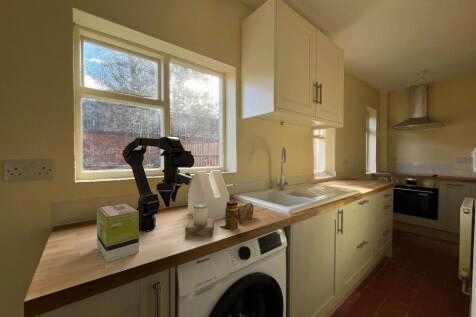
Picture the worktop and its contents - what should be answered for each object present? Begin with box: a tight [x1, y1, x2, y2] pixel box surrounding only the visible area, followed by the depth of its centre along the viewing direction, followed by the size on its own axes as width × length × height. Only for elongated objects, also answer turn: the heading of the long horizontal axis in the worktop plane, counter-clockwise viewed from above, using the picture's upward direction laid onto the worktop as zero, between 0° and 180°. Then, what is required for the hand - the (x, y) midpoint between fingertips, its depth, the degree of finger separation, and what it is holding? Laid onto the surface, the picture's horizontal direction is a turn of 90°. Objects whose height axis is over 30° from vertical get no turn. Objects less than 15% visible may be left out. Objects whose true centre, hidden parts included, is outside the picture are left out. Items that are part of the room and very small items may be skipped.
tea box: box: [96, 203, 140, 263], centre depth 72 cm, size 15×10×15 cm, turn 45°
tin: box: [238, 202, 254, 223], centre depth 108 cm, size 15×3×8 cm, turn 148°
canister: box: [193, 204, 208, 225], centre depth 90 cm, size 6×6×8 cm
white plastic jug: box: [187, 169, 230, 220], centre depth 117 cm, size 19×15×25 cm
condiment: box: [218, 200, 242, 233], centre depth 95 cm, size 7×8×12 cm
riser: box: [184, 218, 215, 238], centre depth 90 cm, size 11×11×4 cm
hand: (170, 204), depth 86 cm, fingers open, 9 cm apart
